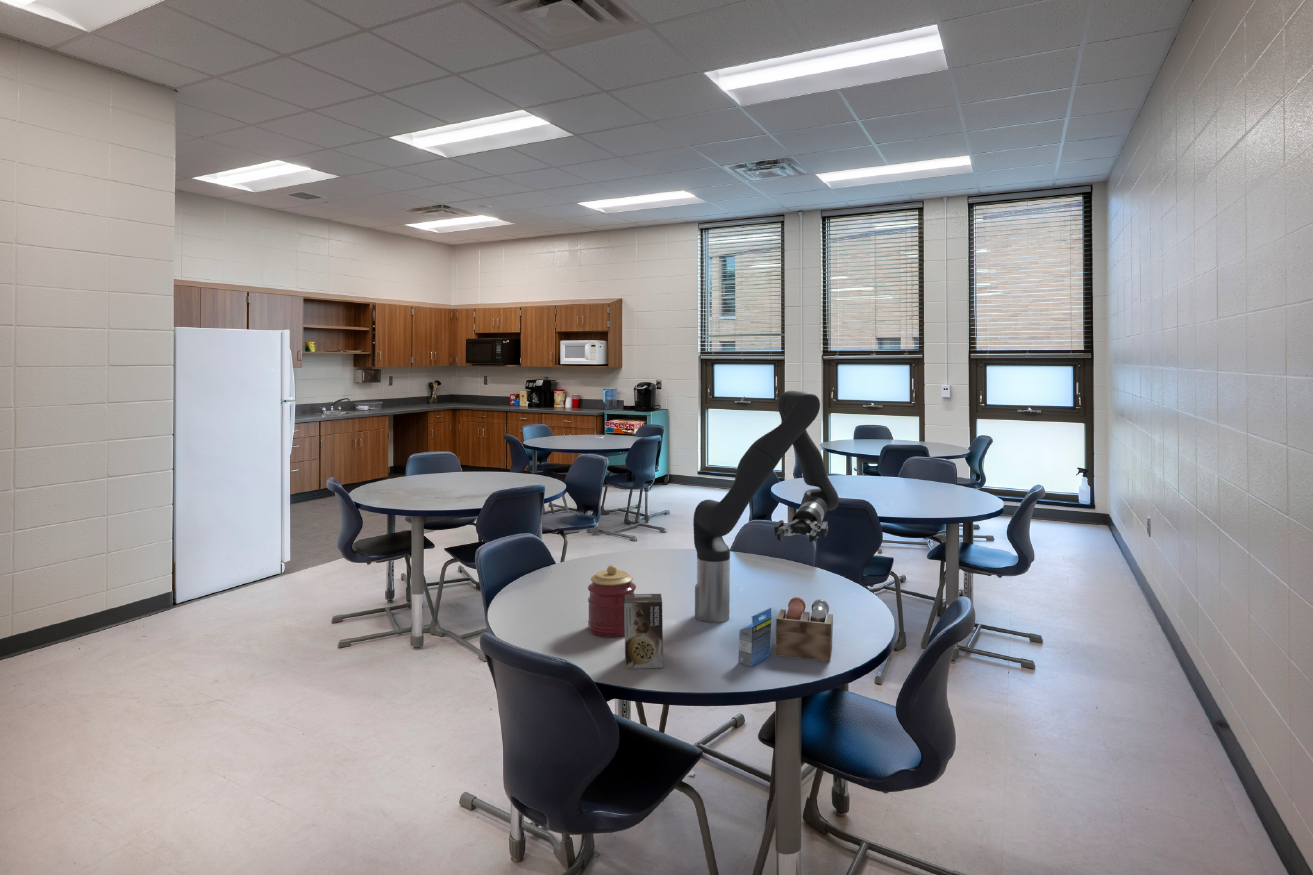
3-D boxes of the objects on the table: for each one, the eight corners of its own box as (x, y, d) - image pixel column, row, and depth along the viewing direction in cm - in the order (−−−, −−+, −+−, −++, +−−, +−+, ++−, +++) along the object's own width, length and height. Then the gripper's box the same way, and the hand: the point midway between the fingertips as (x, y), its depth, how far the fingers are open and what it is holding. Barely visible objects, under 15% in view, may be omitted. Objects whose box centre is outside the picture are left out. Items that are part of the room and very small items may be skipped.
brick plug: (784, 624, 181) (784, 607, 180) (788, 612, 190) (788, 596, 189) (801, 626, 179) (802, 609, 179) (805, 614, 188) (805, 598, 188)
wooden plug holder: (775, 655, 176) (776, 618, 176) (780, 642, 184) (780, 607, 184) (830, 661, 173) (831, 624, 172) (832, 648, 181) (832, 612, 180)
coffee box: (662, 657, 175) (662, 593, 173) (663, 668, 168) (663, 601, 167) (624, 658, 175) (624, 593, 173) (624, 669, 168) (624, 601, 167)
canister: (629, 640, 186) (629, 573, 185) (581, 636, 189) (581, 570, 187) (641, 622, 199) (640, 560, 197) (595, 619, 202) (595, 557, 200)
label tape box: (757, 651, 179) (757, 603, 177) (771, 656, 176) (772, 607, 175) (737, 663, 172) (738, 613, 171) (752, 667, 169) (753, 616, 168)
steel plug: (808, 627, 179) (808, 610, 179) (811, 615, 188) (811, 598, 188) (826, 629, 178) (826, 611, 177) (828, 616, 187) (829, 600, 186)
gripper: (783, 505, 210) (767, 524, 196) (832, 506, 204) (820, 526, 190) (785, 529, 212) (770, 550, 198) (834, 530, 206) (822, 552, 191)
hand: (794, 538), depth 194 cm, fingers open, 8 cm apart
